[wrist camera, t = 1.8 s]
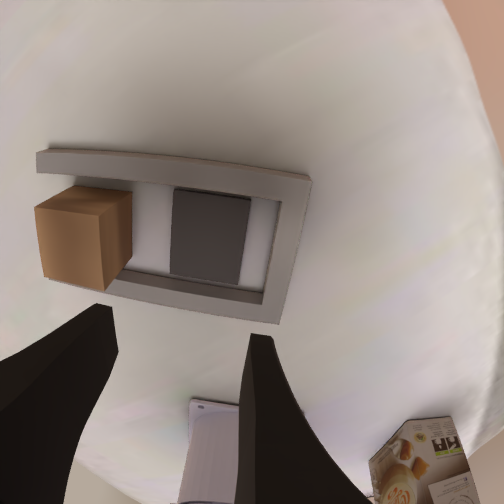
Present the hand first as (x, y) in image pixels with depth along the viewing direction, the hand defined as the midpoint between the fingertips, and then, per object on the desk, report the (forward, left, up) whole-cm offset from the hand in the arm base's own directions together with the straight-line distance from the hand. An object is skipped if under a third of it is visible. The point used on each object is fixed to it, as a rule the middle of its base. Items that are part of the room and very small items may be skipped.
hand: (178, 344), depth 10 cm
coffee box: (-22, +20, -9) cm, 31 cm away
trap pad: (+1, 0, -8) cm, 8 cm away
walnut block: (+7, 0, -8) cm, 11 cm away
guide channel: (+4, 0, -8) cm, 9 cm away
